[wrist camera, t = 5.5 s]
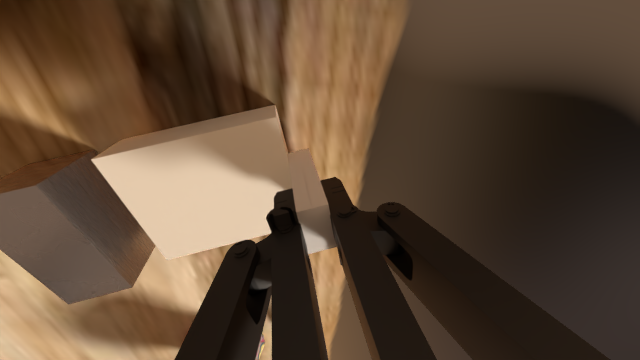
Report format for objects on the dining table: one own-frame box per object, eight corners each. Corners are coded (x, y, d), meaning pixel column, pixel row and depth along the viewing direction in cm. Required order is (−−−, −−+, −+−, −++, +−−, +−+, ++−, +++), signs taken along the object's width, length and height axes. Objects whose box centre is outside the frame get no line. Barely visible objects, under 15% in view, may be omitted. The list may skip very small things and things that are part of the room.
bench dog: (108, 251, 19) (68, 304, 15) (28, 164, 15) (-54, 206, 11) (159, 238, 20) (132, 287, 16) (94, 149, 15) (35, 185, 12)
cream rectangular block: (182, 227, 20) (166, 260, 17) (124, 137, 16) (90, 159, 13) (300, 197, 21) (305, 224, 18) (275, 103, 16) (276, 116, 13)
